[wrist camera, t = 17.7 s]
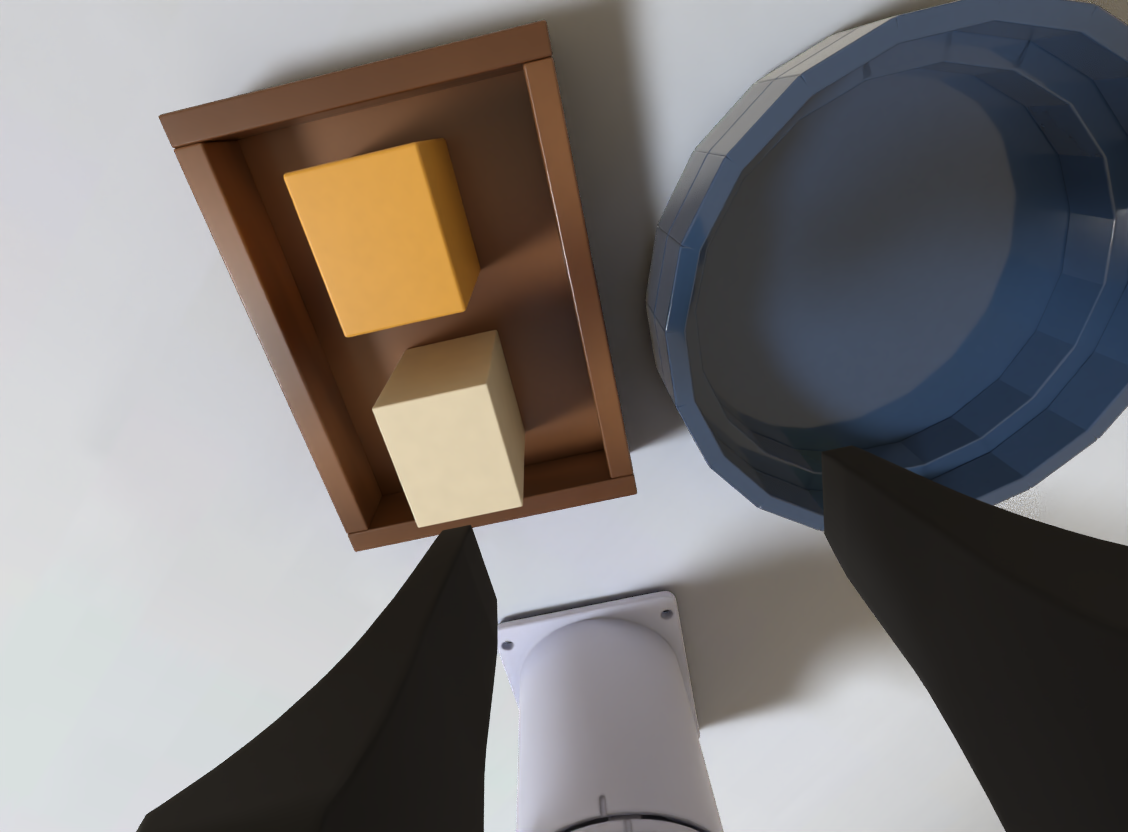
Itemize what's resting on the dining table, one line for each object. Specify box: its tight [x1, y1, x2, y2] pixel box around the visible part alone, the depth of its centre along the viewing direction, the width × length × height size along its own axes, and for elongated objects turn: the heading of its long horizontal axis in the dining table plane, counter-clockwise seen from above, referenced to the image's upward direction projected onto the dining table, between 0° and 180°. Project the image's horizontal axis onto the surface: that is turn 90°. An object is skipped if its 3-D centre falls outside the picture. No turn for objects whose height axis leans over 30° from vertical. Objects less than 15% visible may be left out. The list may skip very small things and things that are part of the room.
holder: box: [159, 20, 637, 552], centre depth 20 cm, size 14×10×3 cm
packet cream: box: [372, 330, 525, 528], centre depth 19 cm, size 4×3×5 cm
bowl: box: [645, 0, 1128, 531], centre depth 19 cm, size 15×15×4 cm
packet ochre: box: [284, 138, 481, 337], centre depth 17 cm, size 4×3×5 cm
